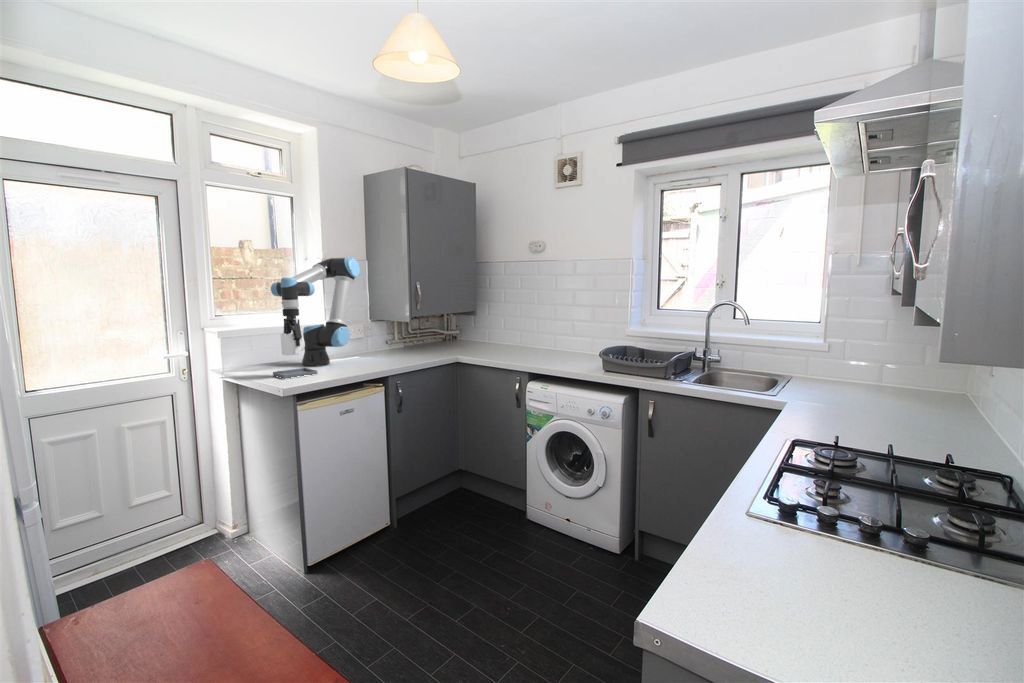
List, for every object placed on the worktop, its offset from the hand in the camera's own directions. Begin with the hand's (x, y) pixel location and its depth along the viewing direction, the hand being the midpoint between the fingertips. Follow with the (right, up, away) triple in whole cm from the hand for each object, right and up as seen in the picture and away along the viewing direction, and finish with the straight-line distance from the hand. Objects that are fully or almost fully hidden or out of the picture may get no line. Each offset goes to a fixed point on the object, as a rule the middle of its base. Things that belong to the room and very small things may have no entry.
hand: (293, 351), depth 246 cm
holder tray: (0, -12, +2) cm, 12 cm away
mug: (+1, -1, 0) cm, 2 cm away
